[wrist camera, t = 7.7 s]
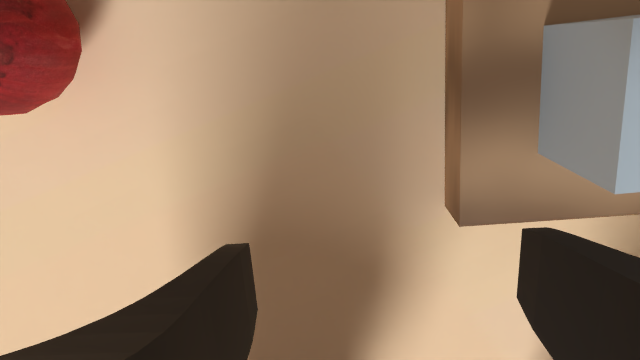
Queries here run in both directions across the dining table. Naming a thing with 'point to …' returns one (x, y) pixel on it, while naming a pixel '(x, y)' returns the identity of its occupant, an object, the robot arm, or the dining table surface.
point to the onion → (36, 52)
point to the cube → (593, 100)
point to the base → (512, 115)
